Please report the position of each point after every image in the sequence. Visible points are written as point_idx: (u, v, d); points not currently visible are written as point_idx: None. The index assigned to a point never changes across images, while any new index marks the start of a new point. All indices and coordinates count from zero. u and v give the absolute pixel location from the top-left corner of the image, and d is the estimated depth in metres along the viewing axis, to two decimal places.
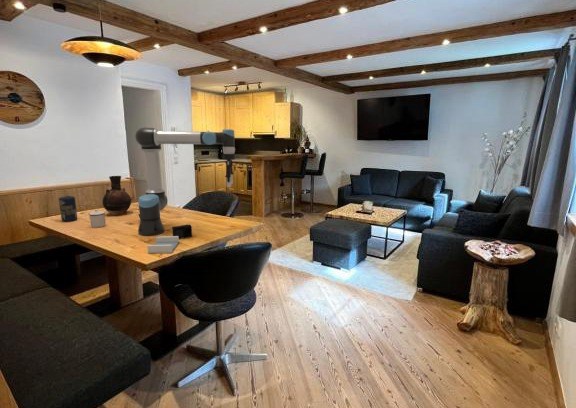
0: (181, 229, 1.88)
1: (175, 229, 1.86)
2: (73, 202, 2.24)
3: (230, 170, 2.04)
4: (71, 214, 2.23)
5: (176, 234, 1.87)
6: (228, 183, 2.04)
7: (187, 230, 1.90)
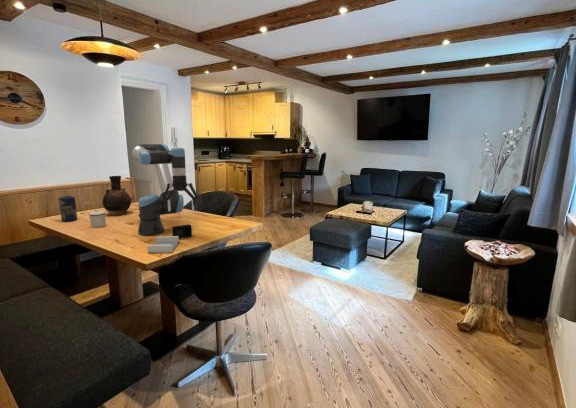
0: (181, 229, 1.88)
1: (175, 229, 1.86)
2: (73, 202, 2.24)
3: (170, 193, 1.83)
4: (71, 214, 2.23)
5: (176, 234, 1.87)
6: None
7: (187, 230, 1.90)
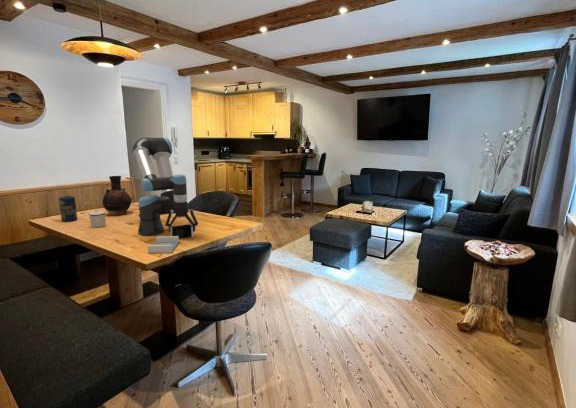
0: (181, 229, 1.88)
1: (175, 229, 1.86)
2: (73, 202, 2.24)
3: (172, 220, 1.87)
4: (71, 214, 2.23)
5: (176, 234, 1.87)
6: None
7: (187, 230, 1.90)
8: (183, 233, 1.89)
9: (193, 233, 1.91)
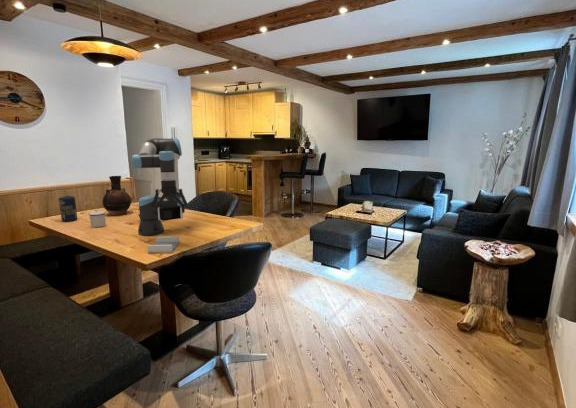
0: (169, 210, 1.74)
1: (163, 210, 1.72)
2: (73, 202, 2.24)
3: (159, 200, 1.73)
4: (71, 214, 2.23)
5: (164, 215, 1.73)
6: None
7: (176, 211, 1.77)
8: (171, 214, 1.75)
9: (182, 215, 1.78)
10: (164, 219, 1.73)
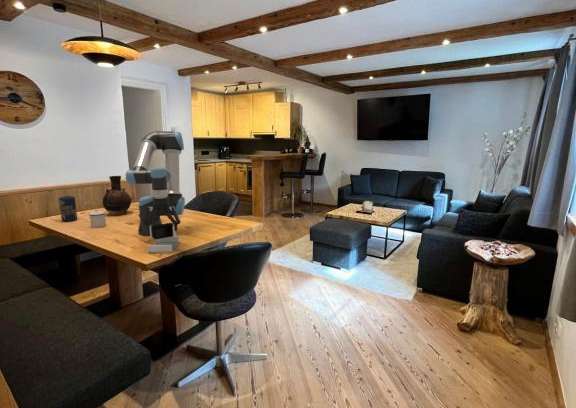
0: (161, 228, 1.69)
1: (155, 228, 1.67)
2: (73, 202, 2.24)
3: (151, 218, 1.67)
4: (71, 214, 2.23)
5: (156, 233, 1.68)
6: None
7: (168, 229, 1.71)
8: (164, 233, 1.70)
9: (175, 233, 1.72)
10: (156, 238, 1.68)
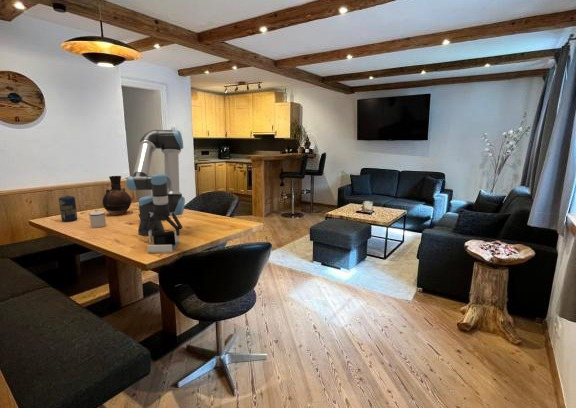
0: (163, 237, 1.70)
1: (156, 237, 1.68)
2: (73, 202, 2.24)
3: (150, 223, 1.68)
4: (71, 214, 2.23)
5: (157, 242, 1.69)
6: None
7: (169, 237, 1.72)
8: (165, 241, 1.71)
9: (177, 237, 1.73)
10: None
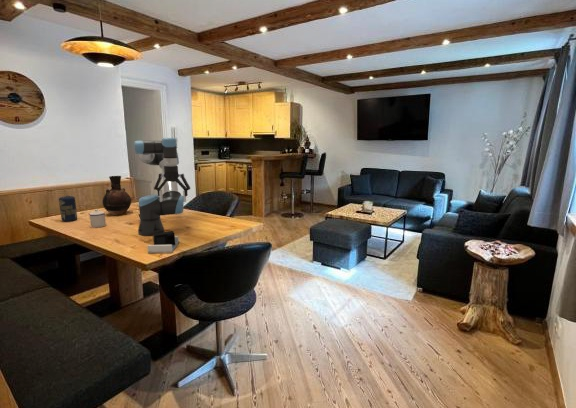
0: (163, 236, 1.70)
1: (156, 237, 1.68)
2: (73, 202, 2.24)
3: None
4: (71, 214, 2.23)
5: (157, 242, 1.69)
6: None
7: (169, 237, 1.72)
8: (165, 241, 1.71)
9: (185, 198, 1.87)
10: None
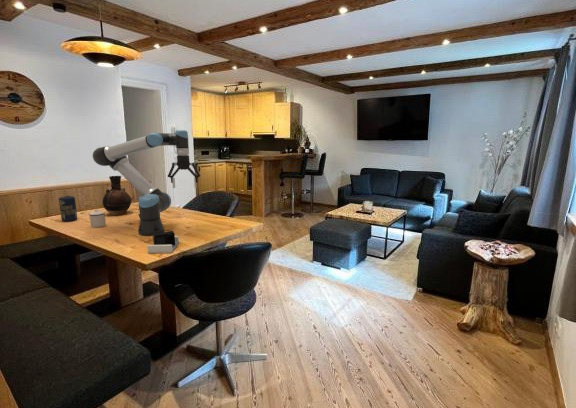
0: (163, 236, 1.70)
1: (156, 237, 1.68)
2: (73, 202, 2.24)
3: None
4: (71, 214, 2.23)
5: (157, 242, 1.69)
6: None
7: (169, 237, 1.72)
8: (165, 241, 1.71)
9: None
10: None
